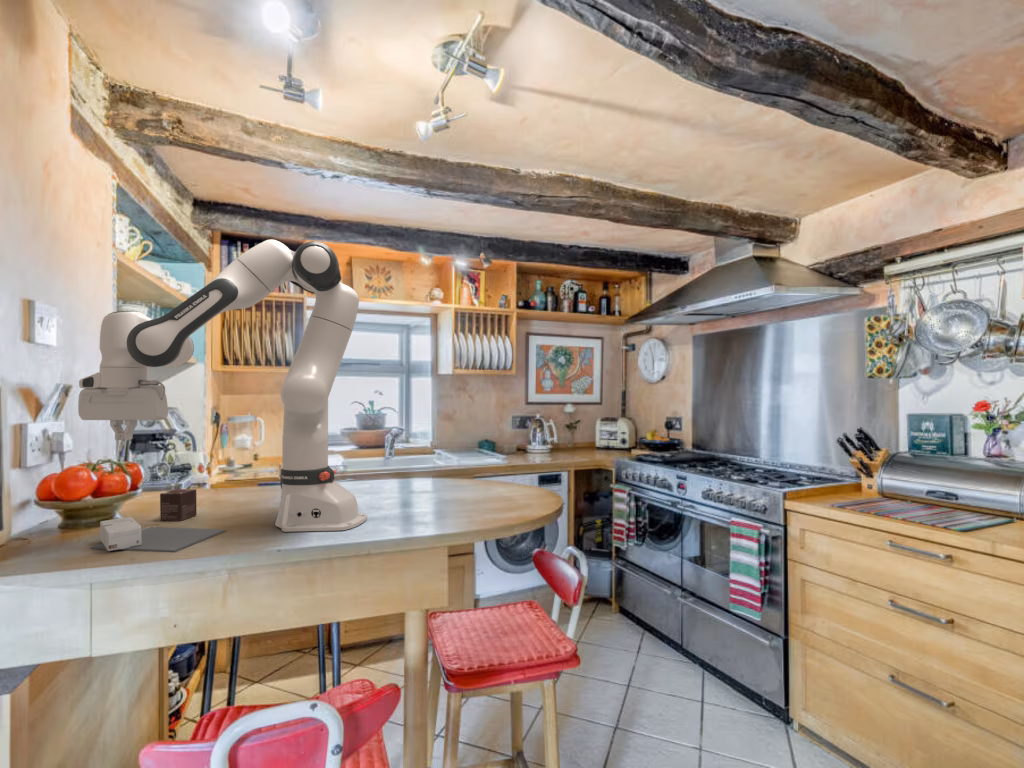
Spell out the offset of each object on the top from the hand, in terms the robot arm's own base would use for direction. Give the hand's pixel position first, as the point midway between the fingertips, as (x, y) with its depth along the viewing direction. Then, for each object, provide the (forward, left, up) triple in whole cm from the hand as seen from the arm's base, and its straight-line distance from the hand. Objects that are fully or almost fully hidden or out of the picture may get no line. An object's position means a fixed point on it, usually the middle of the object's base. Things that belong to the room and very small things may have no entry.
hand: (123, 439), depth 118 cm
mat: (-10, 0, -23) cm, 25 cm away
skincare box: (+1, +1, -21) cm, 21 cm away
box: (+1, -18, -23) cm, 29 cm away
